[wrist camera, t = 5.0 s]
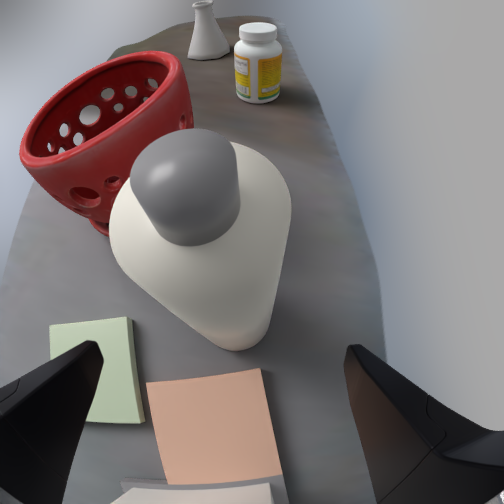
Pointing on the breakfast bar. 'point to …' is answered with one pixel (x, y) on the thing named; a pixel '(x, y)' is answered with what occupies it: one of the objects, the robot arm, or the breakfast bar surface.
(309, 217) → the breakfast bar surface
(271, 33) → the supplement bottle
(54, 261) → the breakfast bar surface
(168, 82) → the plant pot
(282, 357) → the breakfast bar surface
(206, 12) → the flask
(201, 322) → the cream bottle
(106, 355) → the sage green pad
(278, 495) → the grey unit
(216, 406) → the terracotta pad
